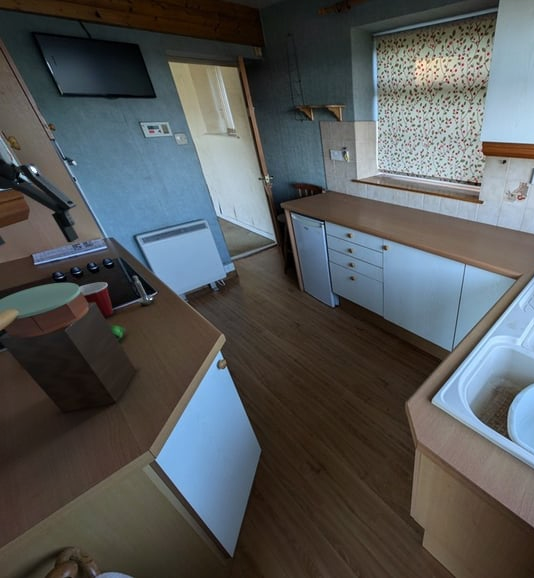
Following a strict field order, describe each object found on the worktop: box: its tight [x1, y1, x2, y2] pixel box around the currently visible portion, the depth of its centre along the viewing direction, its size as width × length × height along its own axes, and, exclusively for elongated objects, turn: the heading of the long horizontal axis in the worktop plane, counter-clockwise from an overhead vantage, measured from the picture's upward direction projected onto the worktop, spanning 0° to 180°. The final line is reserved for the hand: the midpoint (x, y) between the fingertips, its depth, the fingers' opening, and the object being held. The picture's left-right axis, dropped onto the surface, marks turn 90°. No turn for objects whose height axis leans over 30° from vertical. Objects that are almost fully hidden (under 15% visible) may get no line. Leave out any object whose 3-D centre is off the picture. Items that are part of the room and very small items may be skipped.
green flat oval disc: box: [0, 282, 81, 332], centre depth 62 cm, size 26×15×3 cm, turn 15°
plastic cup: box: [79, 281, 114, 319], centre depth 109 cm, size 11×11×12 cm
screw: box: [132, 275, 154, 306], centre depth 116 cm, size 13×5×5 cm
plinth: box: [0, 292, 137, 413], centre depth 75 cm, size 14×14×30 cm
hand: (37, 243), depth 66 cm, fingers open, 13 cm apart
